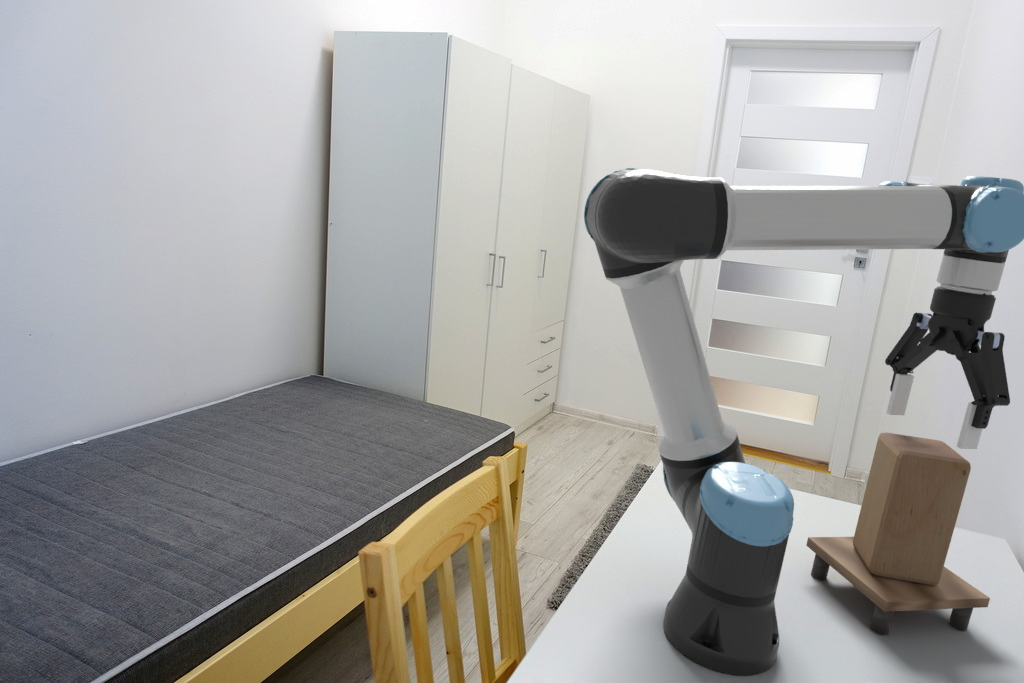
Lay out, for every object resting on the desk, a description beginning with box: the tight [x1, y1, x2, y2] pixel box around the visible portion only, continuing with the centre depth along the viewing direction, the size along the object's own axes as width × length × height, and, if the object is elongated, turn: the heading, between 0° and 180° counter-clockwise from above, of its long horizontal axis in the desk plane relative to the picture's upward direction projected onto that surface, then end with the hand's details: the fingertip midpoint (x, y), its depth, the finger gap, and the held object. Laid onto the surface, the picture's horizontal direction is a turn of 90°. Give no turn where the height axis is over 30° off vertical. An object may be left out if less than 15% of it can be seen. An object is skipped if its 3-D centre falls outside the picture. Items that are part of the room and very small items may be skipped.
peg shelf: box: [806, 536, 991, 636], centre depth 111 cm, size 18×18×6 cm
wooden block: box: [853, 432, 972, 585], centre depth 108 cm, size 10×10×20 cm
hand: (928, 430), depth 105 cm, fingers open, 13 cm apart
